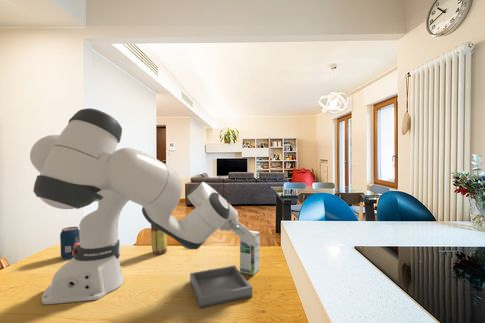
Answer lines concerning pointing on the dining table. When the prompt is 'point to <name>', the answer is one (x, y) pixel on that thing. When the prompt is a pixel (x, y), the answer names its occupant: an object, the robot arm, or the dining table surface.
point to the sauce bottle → (158, 241)
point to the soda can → (68, 241)
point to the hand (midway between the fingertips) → (251, 241)
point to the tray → (219, 286)
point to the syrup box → (250, 256)
